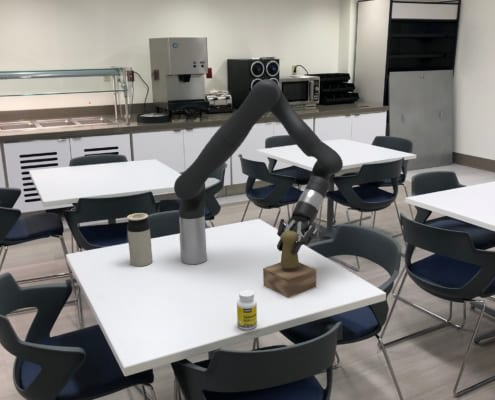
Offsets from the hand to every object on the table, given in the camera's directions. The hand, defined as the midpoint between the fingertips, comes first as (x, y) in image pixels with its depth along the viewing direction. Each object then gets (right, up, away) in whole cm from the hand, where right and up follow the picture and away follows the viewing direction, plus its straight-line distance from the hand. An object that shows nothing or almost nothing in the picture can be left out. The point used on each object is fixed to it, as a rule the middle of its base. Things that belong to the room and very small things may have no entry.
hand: (286, 251), depth 161 cm
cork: (+1, -5, +3) cm, 5 cm away
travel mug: (-51, -7, +28) cm, 59 cm away
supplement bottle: (-12, -19, -19) cm, 29 cm away
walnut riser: (+1, -12, +4) cm, 12 cm away
